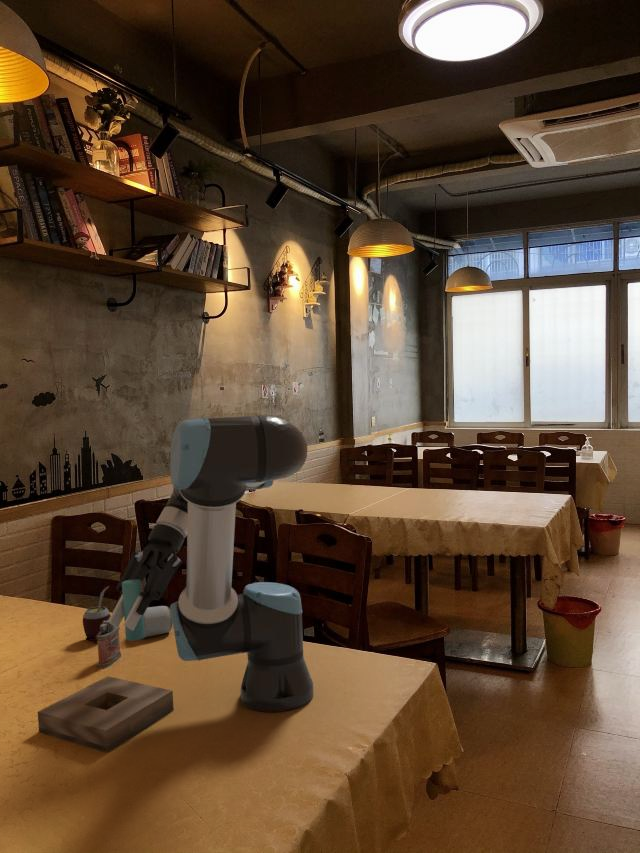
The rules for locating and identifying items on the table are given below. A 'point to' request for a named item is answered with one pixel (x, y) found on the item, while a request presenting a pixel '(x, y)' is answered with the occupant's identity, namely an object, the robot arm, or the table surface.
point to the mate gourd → (95, 619)
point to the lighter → (108, 644)
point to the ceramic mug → (157, 620)
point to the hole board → (105, 713)
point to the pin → (130, 595)
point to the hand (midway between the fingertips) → (120, 625)
